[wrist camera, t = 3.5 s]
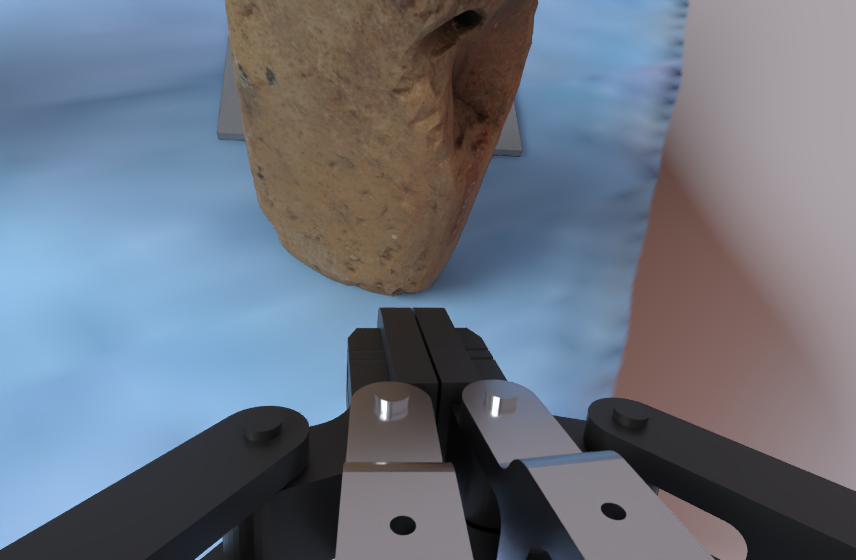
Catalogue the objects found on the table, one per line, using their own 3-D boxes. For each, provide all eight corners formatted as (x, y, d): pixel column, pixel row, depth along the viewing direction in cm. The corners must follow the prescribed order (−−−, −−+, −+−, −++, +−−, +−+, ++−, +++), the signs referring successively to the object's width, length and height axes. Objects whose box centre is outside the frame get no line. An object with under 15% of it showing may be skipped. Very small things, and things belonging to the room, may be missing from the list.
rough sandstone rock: (250, 236, 32) (163, -145, 15) (325, 155, 36) (328, -232, 18) (406, 334, 31) (517, 52, 14) (468, 241, 35) (620, -81, 17)
